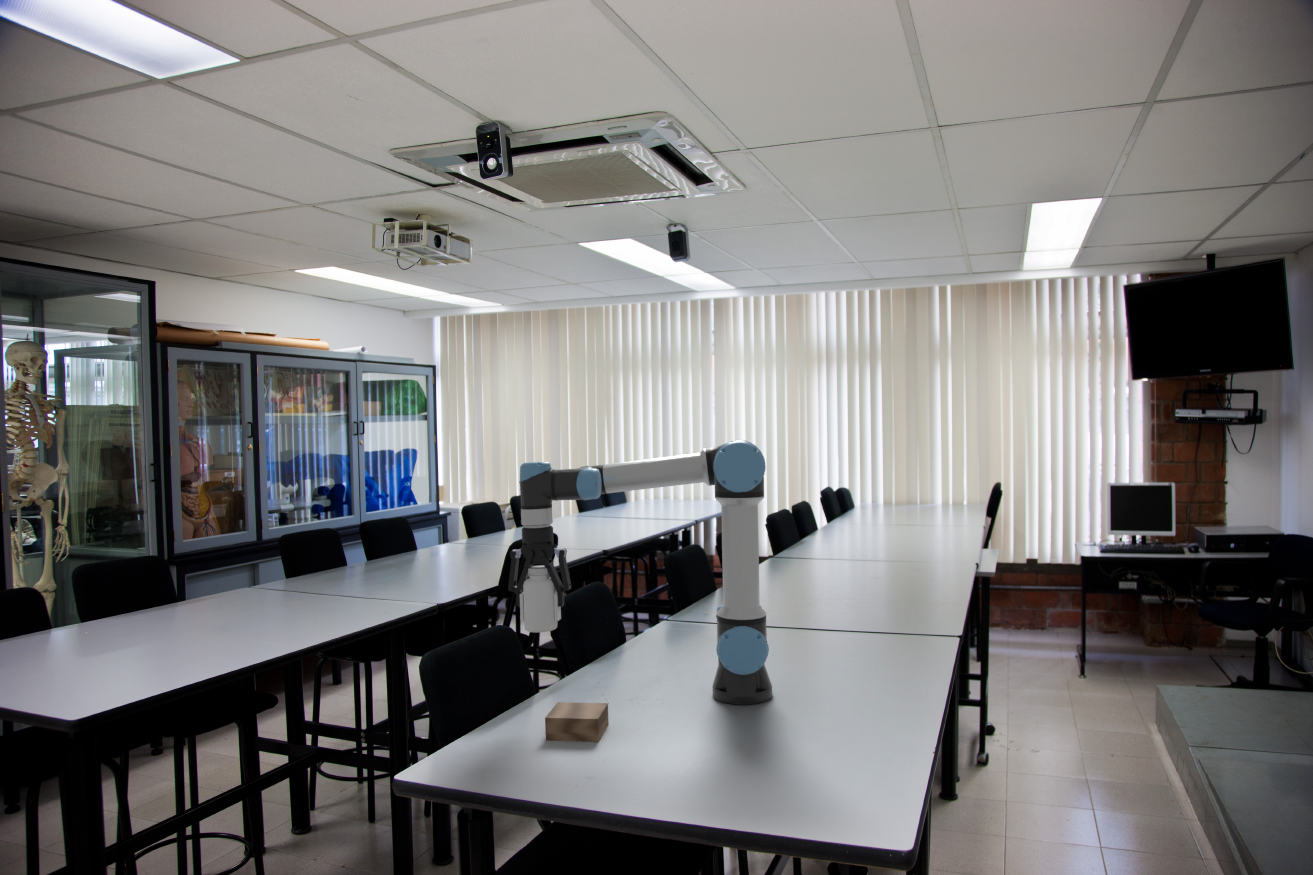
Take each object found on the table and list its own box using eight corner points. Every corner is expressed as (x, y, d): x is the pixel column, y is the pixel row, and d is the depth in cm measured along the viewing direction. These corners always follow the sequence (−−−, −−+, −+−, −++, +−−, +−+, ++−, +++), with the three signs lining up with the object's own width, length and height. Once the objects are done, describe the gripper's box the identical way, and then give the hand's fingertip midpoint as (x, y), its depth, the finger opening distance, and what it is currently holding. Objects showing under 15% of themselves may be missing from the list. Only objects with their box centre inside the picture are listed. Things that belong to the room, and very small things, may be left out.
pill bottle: (551, 633, 179) (548, 569, 180) (519, 632, 181) (516, 569, 181) (562, 625, 187) (560, 564, 187) (531, 624, 189) (529, 564, 189)
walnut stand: (608, 724, 176) (607, 702, 176) (598, 741, 167) (598, 718, 167) (558, 723, 178) (557, 702, 178) (545, 740, 168) (545, 717, 168)
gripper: (582, 523, 186) (586, 616, 186) (502, 524, 190) (505, 616, 190) (574, 526, 179) (578, 623, 179) (490, 528, 182) (494, 623, 182)
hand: (540, 619), depth 184 cm, fingers closed on pill bottle, 8 cm apart
